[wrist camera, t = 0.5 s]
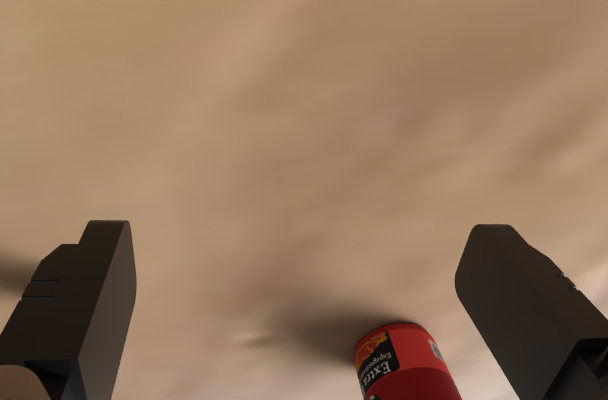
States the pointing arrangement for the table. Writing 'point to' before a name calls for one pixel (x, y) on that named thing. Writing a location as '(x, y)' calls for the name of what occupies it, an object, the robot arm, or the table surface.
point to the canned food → (402, 365)
